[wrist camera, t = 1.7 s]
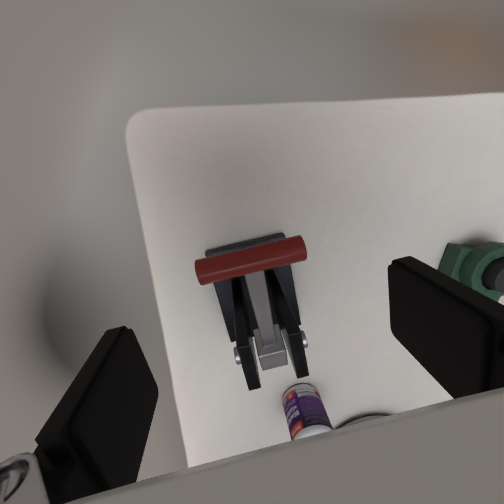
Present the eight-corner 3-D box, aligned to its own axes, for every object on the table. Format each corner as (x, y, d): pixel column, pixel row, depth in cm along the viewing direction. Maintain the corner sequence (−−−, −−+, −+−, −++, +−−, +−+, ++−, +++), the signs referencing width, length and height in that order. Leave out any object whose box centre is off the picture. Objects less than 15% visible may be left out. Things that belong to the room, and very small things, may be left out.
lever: (193, 248, 16) (195, 281, 14) (296, 224, 16) (310, 253, 14) (236, 349, 25) (240, 376, 23) (301, 333, 25) (309, 359, 24)
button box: (451, 233, 34) (480, 243, 30) (507, 239, 35) (541, 250, 31) (420, 313, 38) (443, 331, 34) (472, 316, 39) (499, 334, 35)
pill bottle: (283, 383, 39) (302, 453, 30) (320, 381, 40) (350, 450, 31) (280, 412, 41) (296, 486, 32) (315, 410, 42) (342, 482, 32)
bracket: (205, 250, 31) (196, 311, 19) (282, 232, 32) (320, 281, 20) (230, 336, 36) (235, 430, 24) (298, 319, 36) (338, 403, 24)
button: (488, 256, 31) (503, 262, 30) (515, 259, 32) (531, 265, 30) (476, 285, 33) (489, 292, 31) (502, 287, 33) (517, 294, 31)
